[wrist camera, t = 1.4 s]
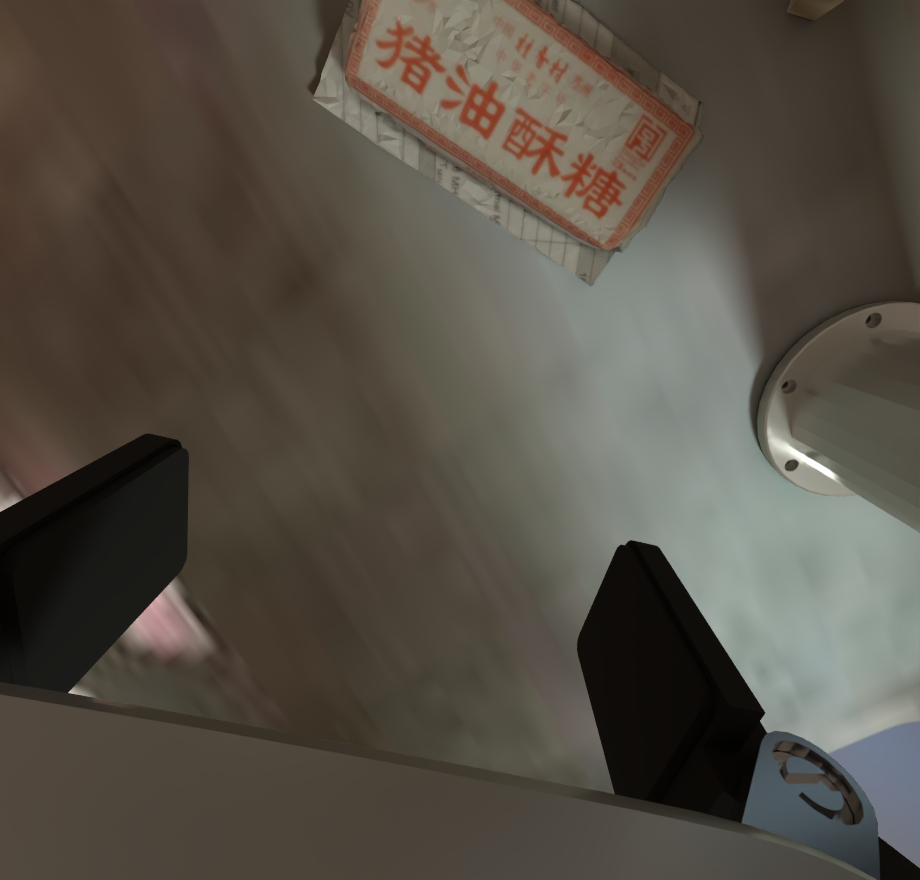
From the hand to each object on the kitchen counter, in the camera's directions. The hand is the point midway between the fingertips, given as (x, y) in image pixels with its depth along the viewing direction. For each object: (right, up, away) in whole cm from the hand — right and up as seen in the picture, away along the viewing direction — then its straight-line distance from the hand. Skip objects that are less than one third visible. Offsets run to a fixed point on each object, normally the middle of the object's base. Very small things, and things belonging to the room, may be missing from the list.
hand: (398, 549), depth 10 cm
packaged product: (+4, +20, +15) cm, 25 cm away
